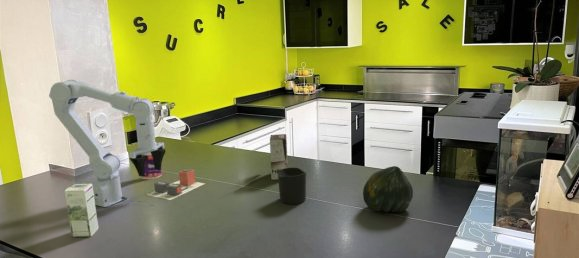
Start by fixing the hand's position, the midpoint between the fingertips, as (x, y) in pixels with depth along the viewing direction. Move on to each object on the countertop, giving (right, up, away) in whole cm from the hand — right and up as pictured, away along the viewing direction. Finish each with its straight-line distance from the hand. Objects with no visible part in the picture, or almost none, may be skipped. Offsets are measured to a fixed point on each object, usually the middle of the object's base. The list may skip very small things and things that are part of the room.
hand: (150, 172), depth 150 cm
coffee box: (+45, -4, +21) cm, 50 cm away
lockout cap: (+10, -5, +12) cm, 17 cm away
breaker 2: (+8, -8, +2) cm, 11 cm away
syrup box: (-11, -16, -24) cm, 31 cm away
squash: (+80, -10, -14) cm, 82 cm away
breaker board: (+7, -8, +7) cm, 13 cm away
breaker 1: (+3, -7, +5) cm, 9 cm away
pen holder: (+50, -9, -4) cm, 51 cm away
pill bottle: (-7, -5, +23) cm, 25 cm away
